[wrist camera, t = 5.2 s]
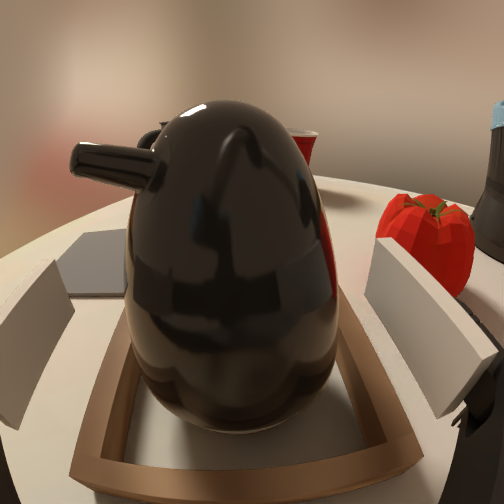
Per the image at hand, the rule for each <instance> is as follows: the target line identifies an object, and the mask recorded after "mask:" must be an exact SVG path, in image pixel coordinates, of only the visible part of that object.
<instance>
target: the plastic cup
mask: <svg viewBox="0 0 504 504" xmlns="http://www.w3.org/2000/svg"><path fill="white" fill-rule="evenodd" d="M286 129H287V131H288V132H289V133H290V135H291V136H292V138H293V139H294V141H295V142H296V144H297V146H298V147H299V149H300V151H301V153H302V154H303V156H304V158H305V160H306V162H307V164H308V166H309V162H310V157H311V152H312V148H313V145H314V143H315V139H316V137H317V136H318V135H319V134H318V133H316V132H312V131H307V130H300V129H290V128H286Z"/></svg>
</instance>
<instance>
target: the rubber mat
mask: <svg viewBox="0 0 504 504" xmlns="http://www.w3.org/2000/svg"><path fill="white" fill-rule="evenodd" d="M126 232H127V229H118V230H107V231H98V232H88V233H83V234H82V235H81V236H80V237H79V238H78V239H77V240H76V241H75V242H74V243H73V244H72V245H71V246H70V247H69V249H68V250H67V251H66V252H65V253H64V254H63V255H62V256H61V257H60V258H59V259H58V260H57V261H56V264H57V267H58V270H59V273H60V275H61V278H62V281H63V283H64V286H65V288H66V291H67V293H68V296H124V282H123V269H124V249H125V239H126Z"/></svg>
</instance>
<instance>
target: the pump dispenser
mask: <svg viewBox="0 0 504 504" xmlns="http://www.w3.org/2000/svg"><path fill="white" fill-rule="evenodd" d="M69 169H70V172H71V174H72V175H73V176H75V177H80V178H89V179H92V180H94V181H97V182H101V183H105V184H110V185H114V186H118V187H122V188H126V189H130V190H133V191H135V194H134V198H133V202H132V206H131V210H130V215H129V220H128V225H127V232H126V239H125V249H124V269H123V282H124V301H125V310H126V317H127V323H128V329H129V333H130V338H131V342H132V346H133V350H134V354H135V358H136V361H137V364H138V367H139V369H140V372H141V374H142V376H143V378H144V380H145V382H146V384H147V386H148V388H149V390H150V391H151V393H152V394H153V395H154V397H155V398H156V399H157V400H158V401H159V402H160V403H161V404H162V405H163V406H164V407H165V408H166V409H167V410H169V411H170V412H171V413H173V414H174V415H176V416H177V417H179V418H181V419H183V420H185V421H187V422H189V423H192V424H194V425H197V426H200V427H202V428H205V429H208V430H211V431H216V432H220V433H227V434H248V433H254V432H259V431H263V430H267V429H269V428H272V427H275V426H277V425H279V424H281V423H283V422H285V421H286V420H288V419H289V418H291V417H293V416H295V415H296V414H298V413H299V412H301V411H302V410H304V409H305V408H306V407H307V406H309V405H310V404H311V403H312V402H313V401H314V400H315V399H316V398H317V397H318V395H319V394H320V393H321V391H322V390H323V389H324V387H325V385H326V384H327V382H328V380H329V377H330V375H331V372H332V369H333V366H334V362H335V358H336V353H337V346H338V334H339V288H338V277H337V268H336V261H335V255H334V249H333V244H332V239H331V235H330V230H329V226H328V222H327V218H326V214H325V211H324V207H323V204H322V201H321V197H320V194H319V192H318V189H317V186H316V183H315V180H314V178H313V175H312V173H311V171H310V168H309V166H308V164H307V162H306V160H305V158H304V156H303V154H302V153H301V151H300V149H299V147H298V146H297V144H296V142H295V141H294V139H293V138H292V136H291V135H290V133H289V132H288V131H287V129H286V128H285V127H284V126H283V125H282V124H281V122H280V121H279V120H277V119H276V118H275V117H273V116H272V115H271V114H270V113H268V112H266V111H265V110H263V109H261V108H259V107H257V106H255V105H252V104H249V103H246V102H242V101H237V100H229V99H217V100H211V101H206V102H203V103H199V104H197V105H194V106H192V107H190V108H188V109H186V110H184V111H183V112H181V113H180V114H178V115H177V116H175V117H174V118H173V119H172V120H171V121H170V122H169V123H168V124H167V125H166V126H165V127H164V129H163V130H162V131H161V133H160V134H159V136H158V138H157V139H156V141H155V143H154V145H153V147H152V149H151V150H149V149H141V148H133V147H125V146H117V145H108V144H98V143H88V142H80V143H78V144H76V145H75V147H74V148H73V150H72V152H71V157H70V162H69Z"/></svg>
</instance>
